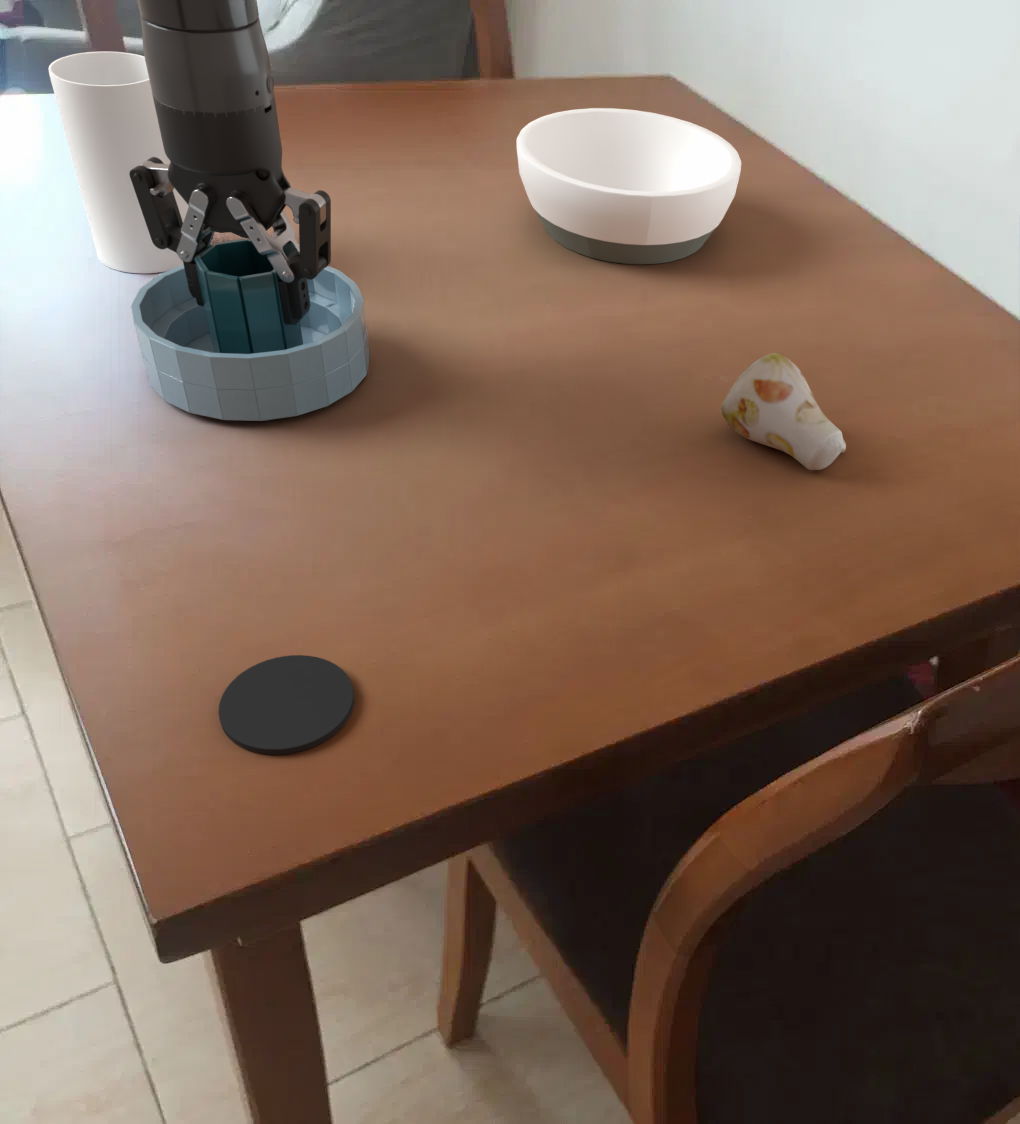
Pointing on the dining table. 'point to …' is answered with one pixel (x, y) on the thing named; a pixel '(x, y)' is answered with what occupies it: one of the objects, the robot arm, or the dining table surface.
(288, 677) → the coaster
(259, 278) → the teal cup
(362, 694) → the dining table surface
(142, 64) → the cup
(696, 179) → the bowl
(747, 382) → the white pear shape
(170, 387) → the glazed bowl
